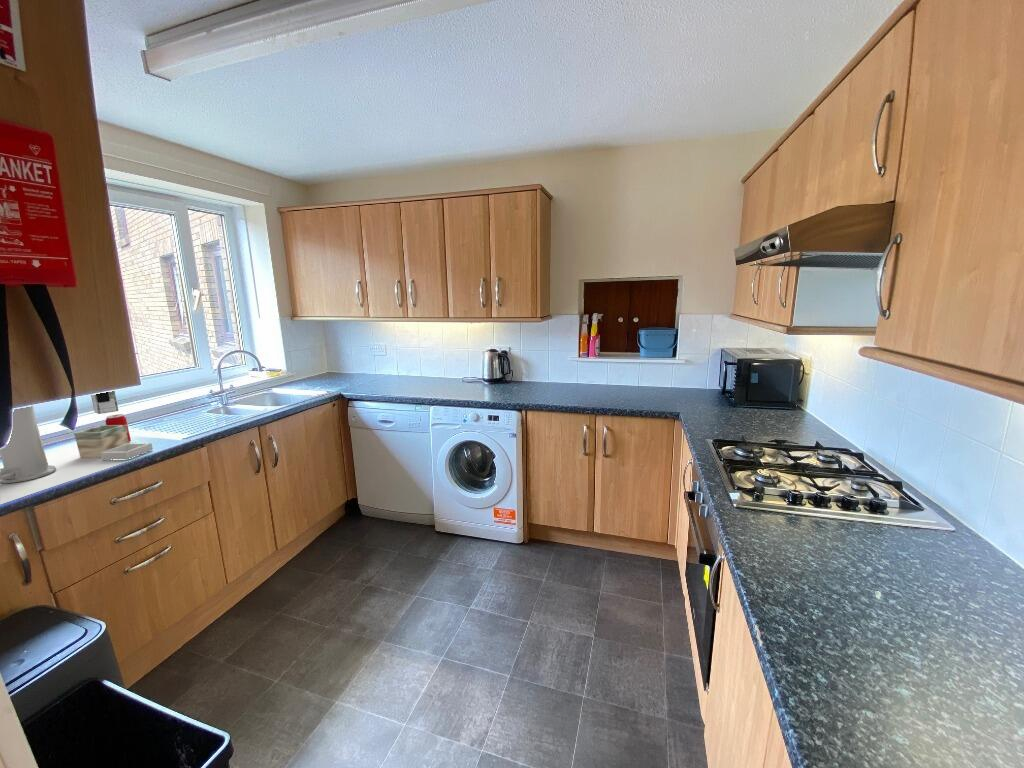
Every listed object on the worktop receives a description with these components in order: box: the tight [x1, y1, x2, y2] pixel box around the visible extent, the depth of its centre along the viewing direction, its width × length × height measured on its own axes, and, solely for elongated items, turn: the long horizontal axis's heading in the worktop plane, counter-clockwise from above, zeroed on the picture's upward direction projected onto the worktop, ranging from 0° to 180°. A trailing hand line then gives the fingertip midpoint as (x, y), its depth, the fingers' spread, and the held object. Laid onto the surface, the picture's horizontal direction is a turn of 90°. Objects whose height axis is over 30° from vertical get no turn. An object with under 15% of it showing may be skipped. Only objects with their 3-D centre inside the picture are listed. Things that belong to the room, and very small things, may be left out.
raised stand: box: [73, 424, 130, 458], centre depth 163 cm, size 10×10×10 cm
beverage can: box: [105, 413, 132, 443], centre depth 173 cm, size 6×6×12 cm
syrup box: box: [90, 391, 119, 415], centre depth 156 cm, size 6×6×14 cm
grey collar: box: [100, 442, 154, 461], centre depth 159 cm, size 10×10×3 cm
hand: (104, 400), depth 157 cm, fingers closed on syrup box, 6 cm apart
